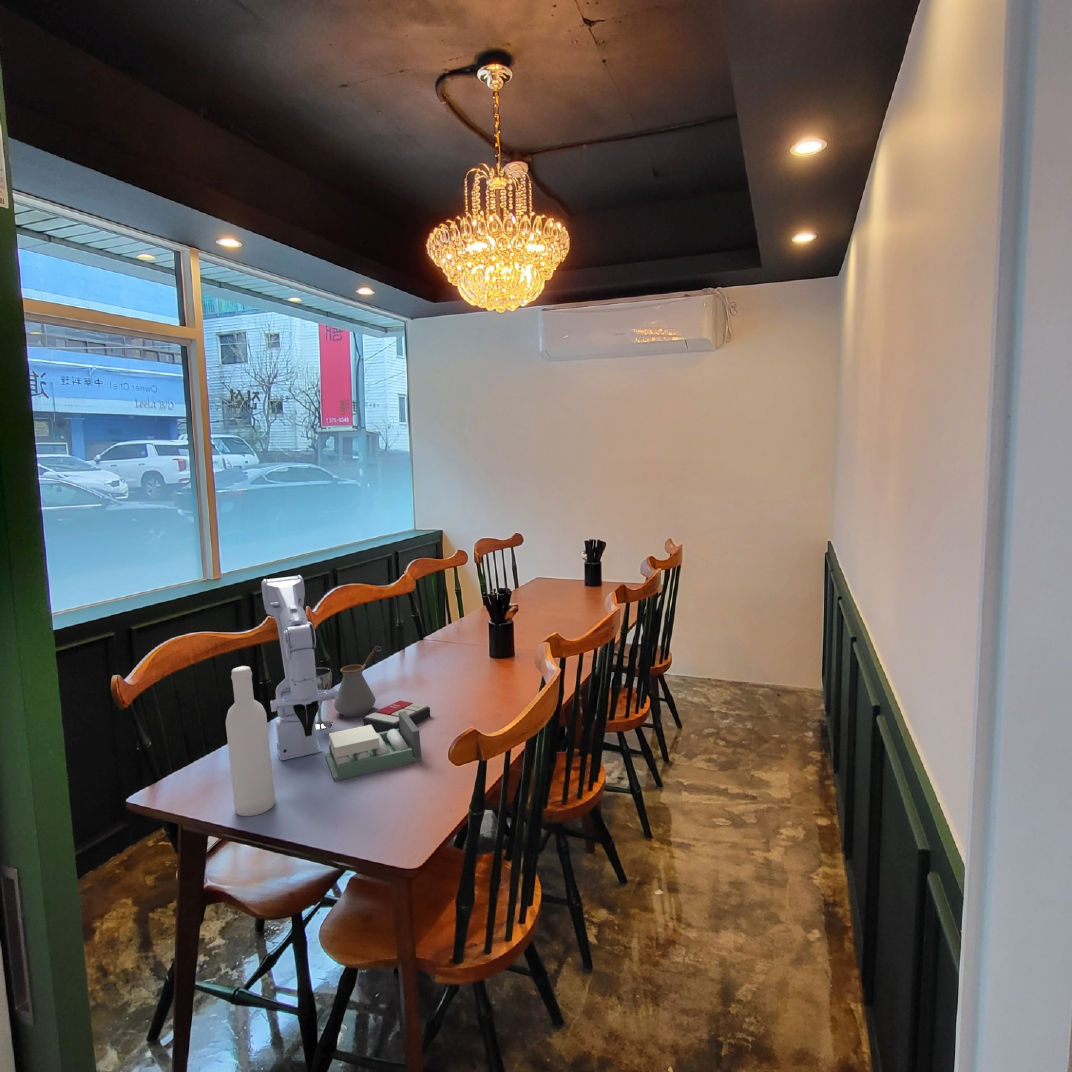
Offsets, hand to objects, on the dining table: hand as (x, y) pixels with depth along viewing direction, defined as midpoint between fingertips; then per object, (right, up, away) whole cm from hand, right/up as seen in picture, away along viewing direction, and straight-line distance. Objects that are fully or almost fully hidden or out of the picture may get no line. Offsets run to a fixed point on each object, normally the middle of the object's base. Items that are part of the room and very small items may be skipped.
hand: (308, 734), depth 154 cm
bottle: (-7, -12, -13) cm, 19 cm away
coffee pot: (+2, -4, +42) cm, 43 cm away
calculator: (+15, -6, +28) cm, 32 cm away
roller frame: (+13, -8, +7) cm, 16 cm away
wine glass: (-6, -6, +29) cm, 30 cm away
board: (+9, -4, +5) cm, 11 cm away
